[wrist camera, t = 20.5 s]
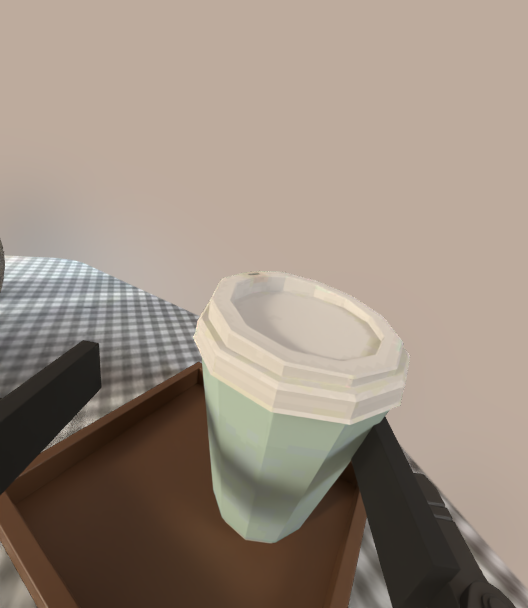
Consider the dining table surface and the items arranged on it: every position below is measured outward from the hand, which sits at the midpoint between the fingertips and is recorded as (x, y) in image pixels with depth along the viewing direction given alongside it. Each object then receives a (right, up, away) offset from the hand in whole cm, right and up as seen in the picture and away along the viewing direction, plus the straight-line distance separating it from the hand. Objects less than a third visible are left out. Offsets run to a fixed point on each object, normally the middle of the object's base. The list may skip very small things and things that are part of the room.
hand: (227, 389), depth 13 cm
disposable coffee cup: (+1, -9, +5) cm, 11 cm away
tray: (-2, -9, +5) cm, 11 cm away
